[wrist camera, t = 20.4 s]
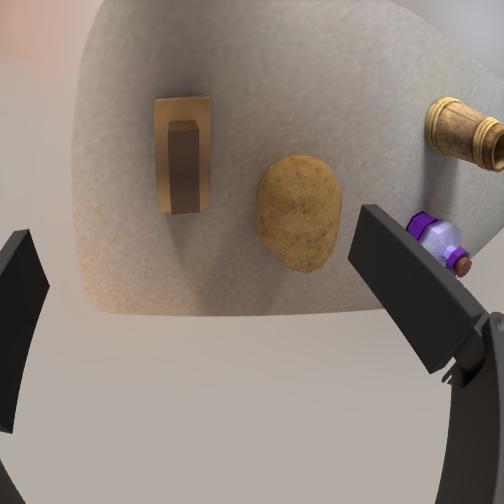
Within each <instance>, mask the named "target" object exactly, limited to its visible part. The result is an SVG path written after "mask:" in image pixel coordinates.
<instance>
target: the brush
mask: <svg viewBox="0 0 504 504" xmlns="http://www.w3.org/2000/svg"><path fill="white" fill-rule="evenodd" d="M210 112H211V98H209V97H208V96H179V97H163V98H156V99H155V100H154V138H155V160H156V177H157V190H158V203H159V213H166V212H171V214H182V213H195V212H200V210H205V209H209V158H210Z"/></svg>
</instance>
